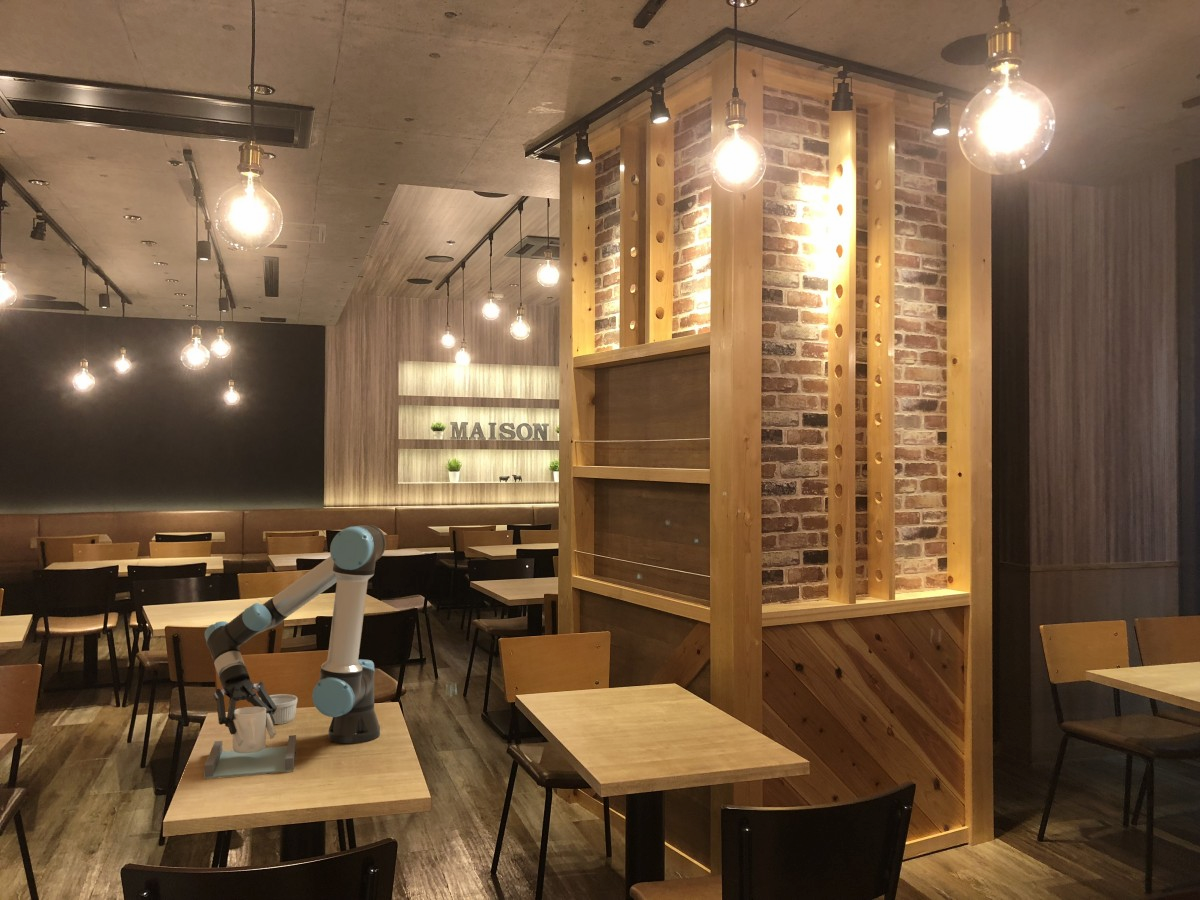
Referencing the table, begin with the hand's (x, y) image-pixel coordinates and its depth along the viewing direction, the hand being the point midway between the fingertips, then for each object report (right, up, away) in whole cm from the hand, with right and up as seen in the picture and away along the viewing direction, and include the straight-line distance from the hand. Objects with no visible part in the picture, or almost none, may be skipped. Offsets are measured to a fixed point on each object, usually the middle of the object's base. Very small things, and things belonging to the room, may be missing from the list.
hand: (257, 739), depth 254 cm
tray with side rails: (-2, -7, +2) cm, 8 cm away
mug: (-3, -4, +2) cm, 5 cm away
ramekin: (-10, -8, +44) cm, 46 cm away
